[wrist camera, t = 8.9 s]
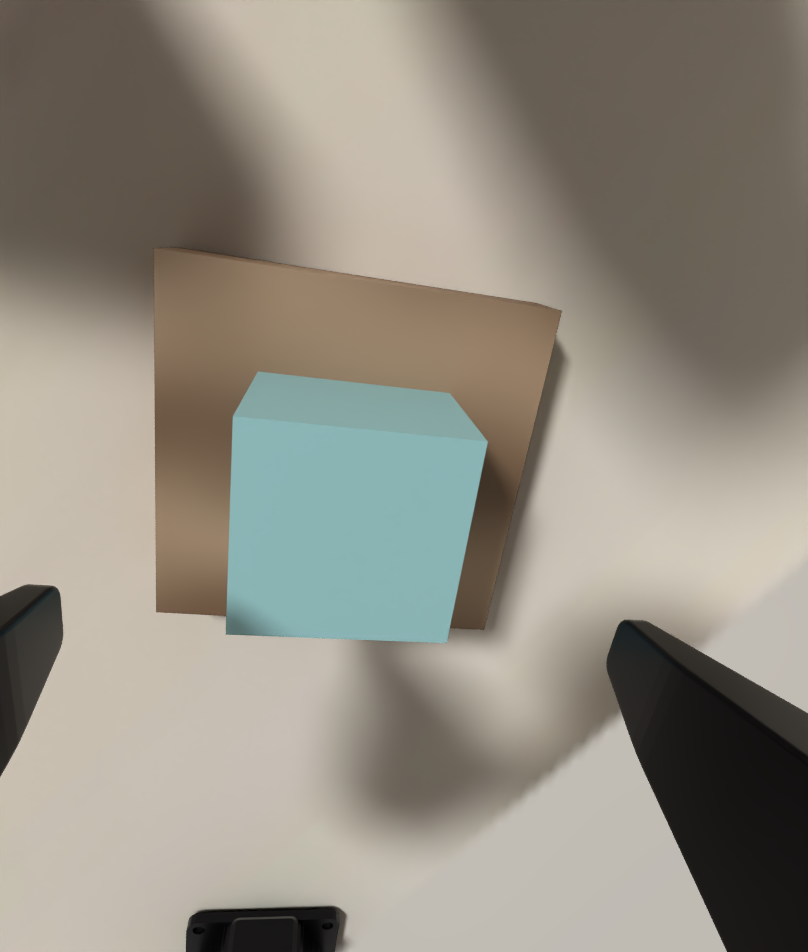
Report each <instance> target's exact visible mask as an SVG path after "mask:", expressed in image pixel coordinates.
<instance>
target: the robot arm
mask: <svg viewBox="0 0 808 952" xmlns="http://www.w3.org/2000/svg"><path fill="white" fill-rule="evenodd" d="M62 640H63V622H62V610H61V598H60V593H59V590H58V589H57V588H56V587H55V586H48V585H31V584H28V585H24V586H21V587H19V588H17V589H15V590H13V591H10V592H8V593H6V594H4V595H2V596H0V776H1V775H2V773H3V771H4V769H5V768H6V766H7V764H8V762H9V761H10V759H11V757H12V755H13V753H14V751H15V750H16V748H17V746H18V744H19V742H20V740H21V737H22V735H23V733H24V731H25V729H26V727H27V724H28V722H29V720H30V717H31V715H32V713H33V710H34V708H35V706H36V704H37V701H38V699H39V697H40V694H41V692H42V690H43V687H44V685H45V683H46V680H47V678H48V676H49V673H50V671H51V669H52V667H53V664H54V662H55V660H56V657H57V655H58V653H59V650H60V648H61V644H62ZM607 672H608V675H609V678H610V681H611V684H612V686H613V689H614V692H615V695H616V698H617V701H618V704H619V707H620V709H621V712H622V715H623V718H624V721H625V724H626V727H627V730H628V732H629V735H630V738H631V741H632V744H633V746H634V748H635V752H636V754H637V756H638V759H639V761H640V763H641V765H642V768H643V770H644V772H645V775H646V777H647V779H648V781H649V783H650V785H651V788H652V790H653V792H654V794H655V796H656V798H657V801H658V803H659V805H660V807H661V809H662V812H663V814H664V816H665V818H666V820H667V822H668V825H669V827H670V829H671V831H672V833H673V835H674V838H675V840H676V842H677V844H678V846H679V848H680V850H681V853H682V855H683V857H684V859H685V861H686V864H687V866H688V868H689V870H690V872H691V874H692V877H693V879H694V881H695V883H696V885H697V887H698V890H699V892H700V894H701V896H702V898H703V900H704V903H705V905H706V907H707V909H708V911H709V913H710V916H711V918H712V919H713V922H714V924H715V927H716V929H717V931H718V933H719V935H720V937H721V940H722V942H723V944H724V946H725V948H726V950H727V952H808V713H806V712H805V711H803V710H801V709H799V708H798V707H796V706H794V705H792V704H791V703H789V702H787V701H785V700H784V699H782V698H780V697H778V696H777V695H775V694H773V693H771V692H770V691H768V690H766V689H764V688H763V687H761V686H759V685H757V684H756V683H754V682H752V681H750V680H749V679H747V678H745V677H744V676H742V675H740V674H738V673H737V672H735V671H733V670H731V669H730V668H727V667H726V666H724V665H723V664H721V663H719V662H717V661H715V660H714V659H712V658H710V657H709V656H707V655H705V654H703V653H702V652H700V651H698V650H696V649H695V648H693V647H691V646H689V645H688V644H686V643H684V642H682V641H681V640H679V639H677V638H675V637H674V636H672V635H670V634H668V633H667V632H665V631H663V630H661V629H660V628H658V627H656V626H654V625H653V624H651V623H649V622H647V621H643V620H623V621H622V622H621V623H620V624H619V625H618V627H617V630H616V633H615V636H614V639H613V642H612V645H611V647H610V650H609V653H608V656H607ZM338 928H339V913H338V912H337V911H335V910H332V909H317V910H283V911H249V912H215V913H197V914H194V915H192V916H191V917H190V918H189V921H188V926H187V931H186V952H335V946H336V940H337V934H338Z"/></svg>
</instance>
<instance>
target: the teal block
mask: <svg viewBox="0 0 808 952" xmlns="http://www.w3.org/2000/svg"><path fill="white" fill-rule="evenodd" d="M487 443H488V441H487V440H486V439H485V437H484V436H483V435H482V434H481V432H480V431H479V430H478V428H477V427H476V426H475V425H474V423H473V422H472V421H471V419H470V418H469V417H468V416H467V414H466V413H465V412H464V410H463V409H462V408H461V407H460V405H459V404H458V403H457V401H456V400H455V399H454V398H453V396H452V395H451V394H450V393H445V392H436V391H427V390H418V389H409V388H400V387H391V386H382V385H374V384H365V383H356V382H347V381H338V380H329V379H320V378H311V377H302V376H294V375H285V374H276V373H267V372H257V374H256V376H255V378H254V379H253V381H252V383H251V385H250V387H249V388H248V390H247V392H246V394H245V395H244V397H243V399H242V401H241V403H240V404H239V406H238V408H237V410H236V412H235V413H234V415H233V427H232V458H231V489H230V520H229V551H228V582H227V613H226V634H229V635H254V636H279V637H304V638H330V639H355V640H380V641H405V642H431V643H447V639H448V634H449V629H450V624H451V619H452V614H453V609H454V604H455V600H456V595H457V590H458V585H459V580H460V575H461V570H462V565H463V561H464V556H465V551H466V546H467V541H468V536H469V531H470V526H471V521H472V517H473V512H474V507H475V502H476V497H477V492H478V487H479V482H480V477H481V473H482V468H483V463H484V458H485V453H486V448H487Z"/></svg>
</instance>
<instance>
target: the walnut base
mask: <svg viewBox="0 0 808 952" xmlns="http://www.w3.org/2000/svg"><path fill="white" fill-rule="evenodd" d="M561 313H562V311H560V310H557V309H554V308H551V307H547V306H544V305H541V304H537V303H532V302H526V301H519V300H513V299H506V298H500V297H493V296H487V295H481V294H474V293H468V292H461V291H455V290H448V289H442V288H435V287H429V286H422V285H416V284H409V283H403V282H397V281H390V280H384V279H377V278H371V277H364V276H358V275H351V274H345V273H338V272H332V271H326V270H319V269H313V268H306V267H300V266H293V265H287V264H280V263H274V262H267V261H261V260H255V259H248V258H242V257H235V256H229V255H222V254H216V253H209V252H203V251H196V250H190V249H184V248H177V247H170V248H154V366H155V505H156V612H164V613H182V614H201V615H219V616H226V613H227V582H228V551H229V520H230V489H231V458H232V427H233V415H234V413H235V412H236V410H237V408H238V406H239V404H240V403H241V401H242V399H243V397H244V395H245V394H246V392H247V390H248V388H249V387H250V385H251V383H252V381H253V379H254V378H255V376H256V374H257V372H267V373H276V374H285V375H294V376H302V377H311V378H320V379H329V380H338V381H347V382H356V383H365V384H374V385H382V386H391V387H400V388H409V389H418V390H427V391H436V392H445V393H450V394H451V395H452V396H453V398H454V399H455V400H456V401H457V403H458V404H459V405H460V407H461V408H462V409H463V410H464V412H465V413H466V414H467V416H468V417H469V418H470V419H471V421H472V422H473V423H474V425H475V426H476V427H477V428H478V430H479V431H480V432H481V434H482V435H483V436H484V437H485V439H486V440H487V441H488V443H487V448H486V453H485V458H484V463H483V468H482V473H481V477H480V482H479V487H478V492H477V497H476V502H475V507H474V512H473V517H472V521H471V526H470V531H469V536H468V541H467V546H466V551H465V556H464V561H463V565H462V570H461V575H460V580H459V585H458V590H457V595H456V600H455V604H454V609H453V614H452V619H451V624H450V628H461V629H480V630H484V627H485V623H486V619H487V615H488V611H489V607H490V603H491V599H492V595H493V591H494V586H495V582H496V578H497V574H498V570H499V566H500V562H501V558H502V554H503V550H504V546H505V541H506V537H507V533H508V529H509V525H510V521H511V517H512V513H513V509H514V505H515V501H516V496H517V492H518V488H519V484H520V480H521V476H522V472H523V468H524V464H525V460H526V456H527V452H528V447H529V443H530V439H531V435H532V431H533V427H534V423H535V419H536V415H537V411H538V407H539V402H540V398H541V394H542V390H543V386H544V382H545V378H546V374H547V370H548V366H549V362H550V357H551V353H552V349H553V345H554V341H555V337H556V333H557V329H558V325H559V321H560V317H561Z"/></svg>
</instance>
